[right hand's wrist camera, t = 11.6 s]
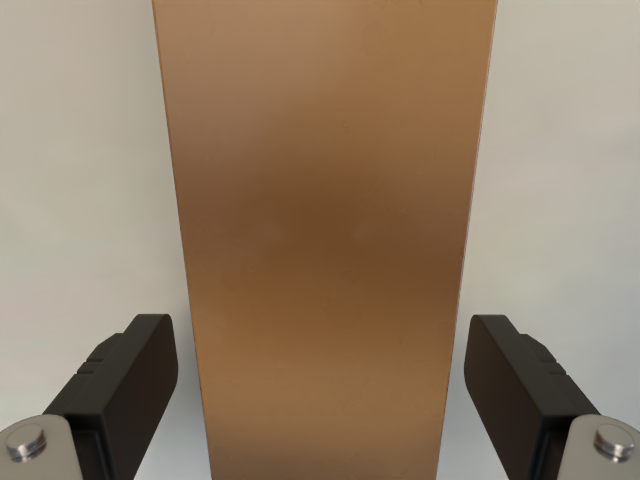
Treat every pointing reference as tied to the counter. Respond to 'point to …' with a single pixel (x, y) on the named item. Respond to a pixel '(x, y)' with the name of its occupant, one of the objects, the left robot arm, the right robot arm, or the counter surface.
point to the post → (324, 222)
